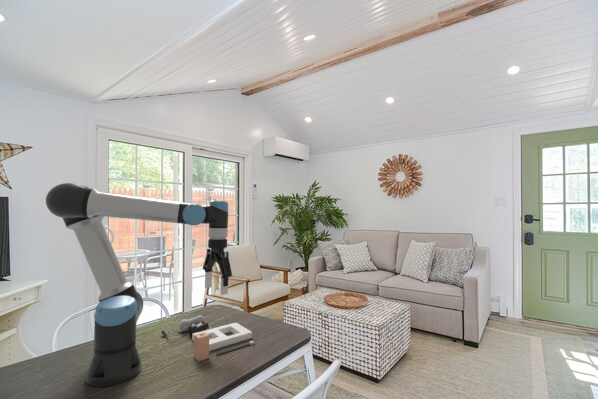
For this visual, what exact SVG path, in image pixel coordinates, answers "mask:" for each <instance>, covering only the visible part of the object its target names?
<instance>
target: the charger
mask: <svg viewBox="0 0 598 399" xmlns="http://www.w3.org/2000/svg"><path fill="white" fill-rule="evenodd" d="M193 358H194V359H195V360H196V361H197V362H201V361H205V360H206V359H209V358H210V351H209V335H208V334H207V333H206V332H202V333H199V334H195V335H194V341H193Z"/></svg>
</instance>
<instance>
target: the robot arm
mask: <svg viewBox="0 0 598 399" xmlns="http://www.w3.org/2000/svg"><path fill="white" fill-rule="evenodd" d="M45 204H46V207H47V209H48V210H49V211H50V213H51V214H52V215H54V216H56V217H58V218H61V219H62V220H63V222H64V224H65V226H66V227H65V228H66V229H69V230H71V231H73V232H74V234H75V236H76V238H77V241H78V244H79V245H80V248H81V250H82V252H83V254H84V257H85V259H86V261H87V264H88V267H90V268H89V269H90V271H91V273H92V275H93V277H94V280H95V282H96V285H97V286H98V289H99V291H100V293H99V296H98V299H97V300H98V303H97V305H96V307H95V310H94V311H95V312H94V314H93V318H94V331H93V332H94V334H93V354H92V357H91V359H90V363H89V365H88V368H87V370H86V373H85V383H86V384H87V385H88V386H91V387H97V388H101V387H103V388H104V387H109V386H111V387H112V386H114V385H119V384H121V383H124V382H127V381H129V380H130V379H132V378H134V377H135V376H137V375H138V374H139V373H140V371H141V369H142V360H141V358H140V357H141V356H140V355H139V352H138V349H137V344H136V343H137V341H136V340H137V338H136V337H137V322H138V320H139V318H140V317H141V314H142V313H143V308H144V300H143V297H142V294H141V293H139V292H138V291H137V290H136V287H135V285H134V283H133V282H132V281H128V280H127V278H126V276H125V273H124V271H123V269H122V267H121V264H120V261H119V259H118V257H117V254H116V253H115V250H114V248H113V245H112V244H111V241H110V239H109V236H108V233H107V231H106V229H105V227H104V225H103V219H104V217H107V218H108V217H110V218H118V219H119V218H120V219H121V218H122V219H128V220H129V219H130V220H138V221H139V220H141V221H151V222H153V221H154V222H161V223H171V224H172V223H173V224H180V225H188V226H198V225H201V224H208V235H207V236H208V238H209V239H208V240H207V250H206V255H205V259H204V262H203V266H202V270H204V272H205V275H204V276H205V277H204V288H205V289H208V288H212V286H213V281H212V280H213V267H214V265H215V263H217V265H218V267H219V270H220V271H219V272H220V273H221V277H220V295H221V296H224V295H225V296H226V295H228V293H229V278H230V277H232V276H233V273H232V268H231V263H230V258H229V251H225V249H227V248H228V239H227V237H228V231H229V230H228V228H229V227H228V226H229V225H228V224H229V203H228V201H226V200H210V201H209V204H206V205H203V204H199V203H194V202H193V203H191V202H190V203H189V202H180V201H172V200H163V199H158V198H157V199H156V198H147V197H139V196H132V195H124V194H113V193H107V192H106V193H105V192H99V191H98V189H97V188H91V187H89V186H87V185H86V186H85V185H83V184H82V185H81V184H76V183H70V182H66V183H65V182H64V183H60V184H57V185H55V186H54V187H52V188H51V189H50V190H49V191H48V192H47V194H46V196H45Z"/></svg>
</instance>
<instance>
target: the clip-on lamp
mask: <svg viewBox="0 0 598 399" xmlns="http://www.w3.org/2000/svg"><path fill="white" fill-rule="evenodd" d="M209 327H210V326H209V323H208V322H206V323H205V319H204V316H203V315H201V314H200V315H197V316H195V317H192V318H189V319H187V318H183V319H182V320H181V321H180V323H179V324H178V330H176V329H169V331H168V333H166V332H165V330H164V329H161V332H160V333H161V334H162V336H163V338H164V339H165V338H166V339H168V338H169V334H170V332H174V333H180V332H181V333H182V332H184V333H185V332H188V334H189V336H190V337H192V334H193V333H197V332H201V331H205V330H209V329H210V328H209Z"/></svg>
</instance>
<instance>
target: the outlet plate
mask: <svg viewBox="0 0 598 399" xmlns="http://www.w3.org/2000/svg"><path fill="white" fill-rule="evenodd" d="M202 332H206V333H207V334H208V335H209V352H211V351H213V350H216V349H217V350H218V349H220V348H223V347H227V346H229V345H234V344H237V343H239V342H240V343H241V342H242V341H246V340H249V339H253V331H251V330H249V329H248V328H246V327H245V326H242V324H239V323H238V322H233V323H229V324H225V325H222V326H221V325H220V326H216V327H212V328H208V329H206V330H204V331H201V332H197V333H193V334H192V336H191V340H192V341H193V342H194V335H195V334H199V333H202ZM228 333H231V334H232V335H227V334H228Z"/></svg>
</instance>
